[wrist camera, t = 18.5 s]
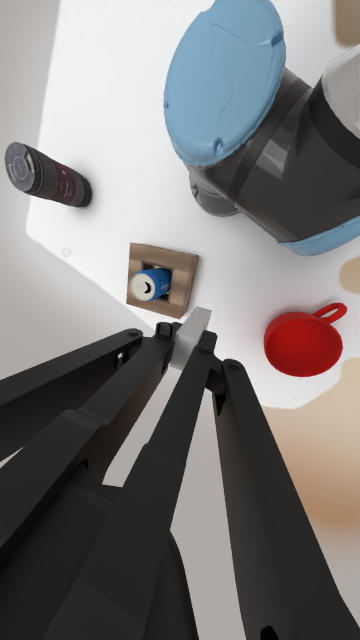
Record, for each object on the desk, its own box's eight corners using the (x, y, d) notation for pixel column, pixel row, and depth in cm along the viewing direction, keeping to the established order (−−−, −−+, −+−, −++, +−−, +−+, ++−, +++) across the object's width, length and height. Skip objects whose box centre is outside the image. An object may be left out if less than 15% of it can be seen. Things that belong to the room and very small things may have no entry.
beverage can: (173, 294, 48) (155, 305, 37) (152, 289, 49) (127, 299, 38) (177, 269, 45) (158, 274, 35) (154, 264, 47) (129, 268, 36)
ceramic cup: (351, 314, 39) (385, 332, 30) (289, 362, 46) (301, 388, 37) (302, 278, 39) (321, 285, 30) (248, 331, 47) (250, 350, 38)
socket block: (143, 244, 47) (130, 242, 41) (198, 255, 44) (192, 256, 38) (138, 298, 53) (126, 303, 47) (186, 311, 50) (179, 319, 44)
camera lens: (86, 167, 45) (21, 130, 31) (98, 202, 47) (42, 182, 33) (64, 181, 48) (-5, 152, 34) (76, 214, 50) (16, 199, 36)
